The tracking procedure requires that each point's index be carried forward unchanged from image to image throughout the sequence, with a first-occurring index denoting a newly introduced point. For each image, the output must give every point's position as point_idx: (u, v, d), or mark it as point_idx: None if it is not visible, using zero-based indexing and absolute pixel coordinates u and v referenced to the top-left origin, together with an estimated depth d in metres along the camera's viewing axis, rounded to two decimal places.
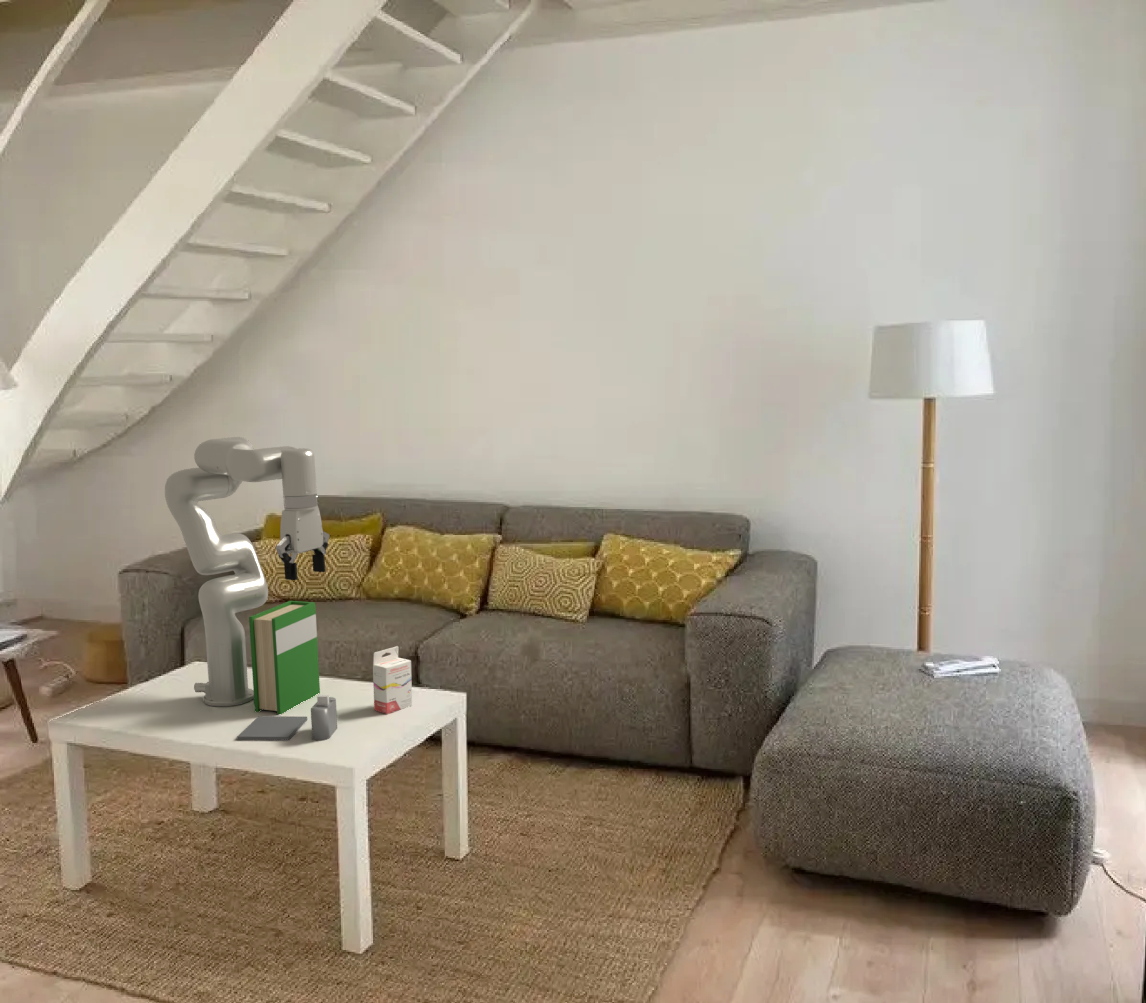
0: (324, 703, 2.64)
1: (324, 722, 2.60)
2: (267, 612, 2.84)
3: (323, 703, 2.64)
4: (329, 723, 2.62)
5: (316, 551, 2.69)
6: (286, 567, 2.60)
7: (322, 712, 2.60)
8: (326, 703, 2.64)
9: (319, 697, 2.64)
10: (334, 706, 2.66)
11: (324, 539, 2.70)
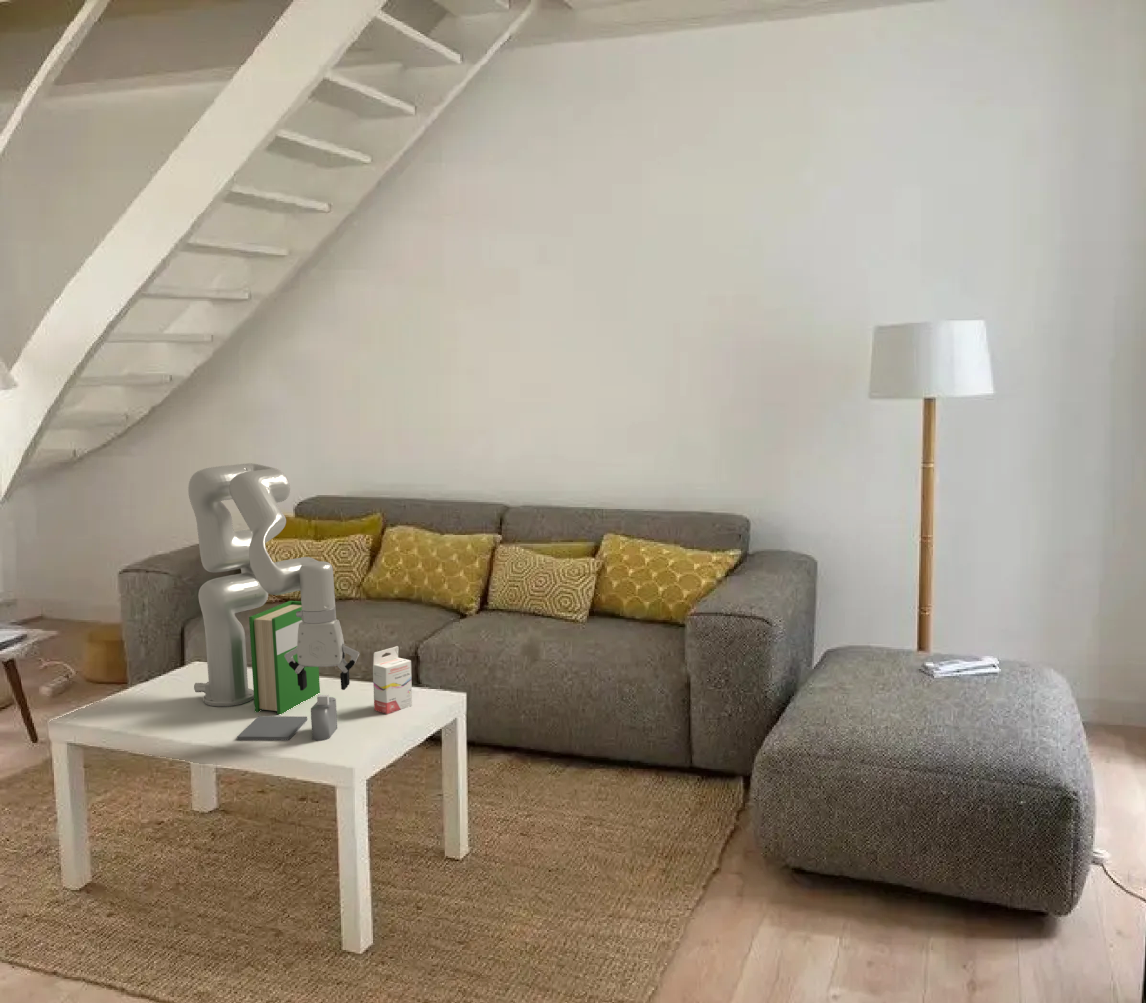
0: (324, 703, 2.64)
1: (324, 722, 2.60)
2: (267, 612, 2.84)
3: (323, 703, 2.64)
4: (329, 723, 2.62)
5: None
6: (347, 675, 2.62)
7: (322, 712, 2.60)
8: (326, 703, 2.64)
9: (319, 697, 2.64)
10: (334, 706, 2.66)
11: (292, 657, 2.63)
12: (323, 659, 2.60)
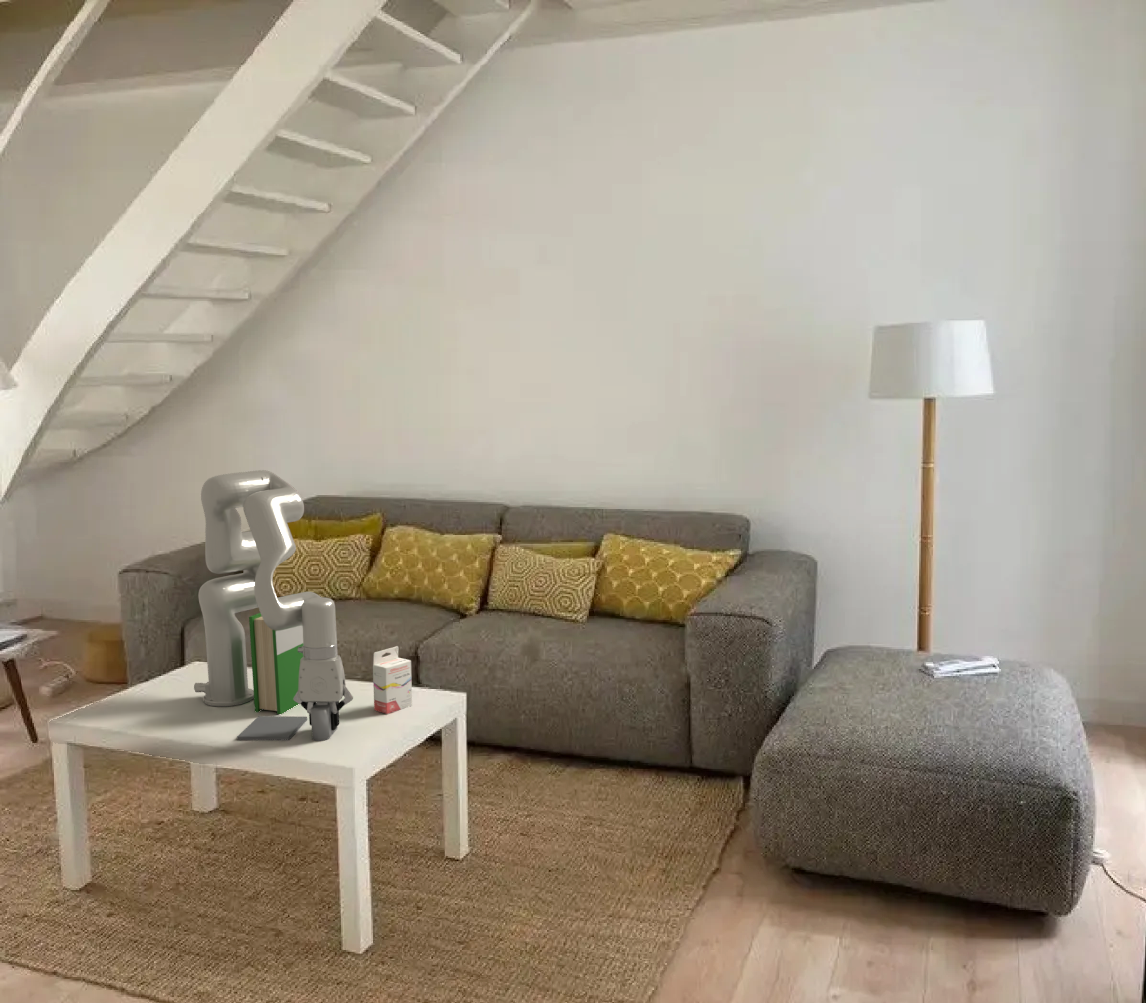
0: (324, 703, 2.64)
1: (324, 722, 2.60)
2: None
3: (323, 703, 2.64)
4: (329, 723, 2.62)
5: None
6: (337, 716, 2.64)
7: (322, 712, 2.60)
8: (326, 703, 2.63)
9: None
10: None
11: None
12: (324, 695, 2.61)
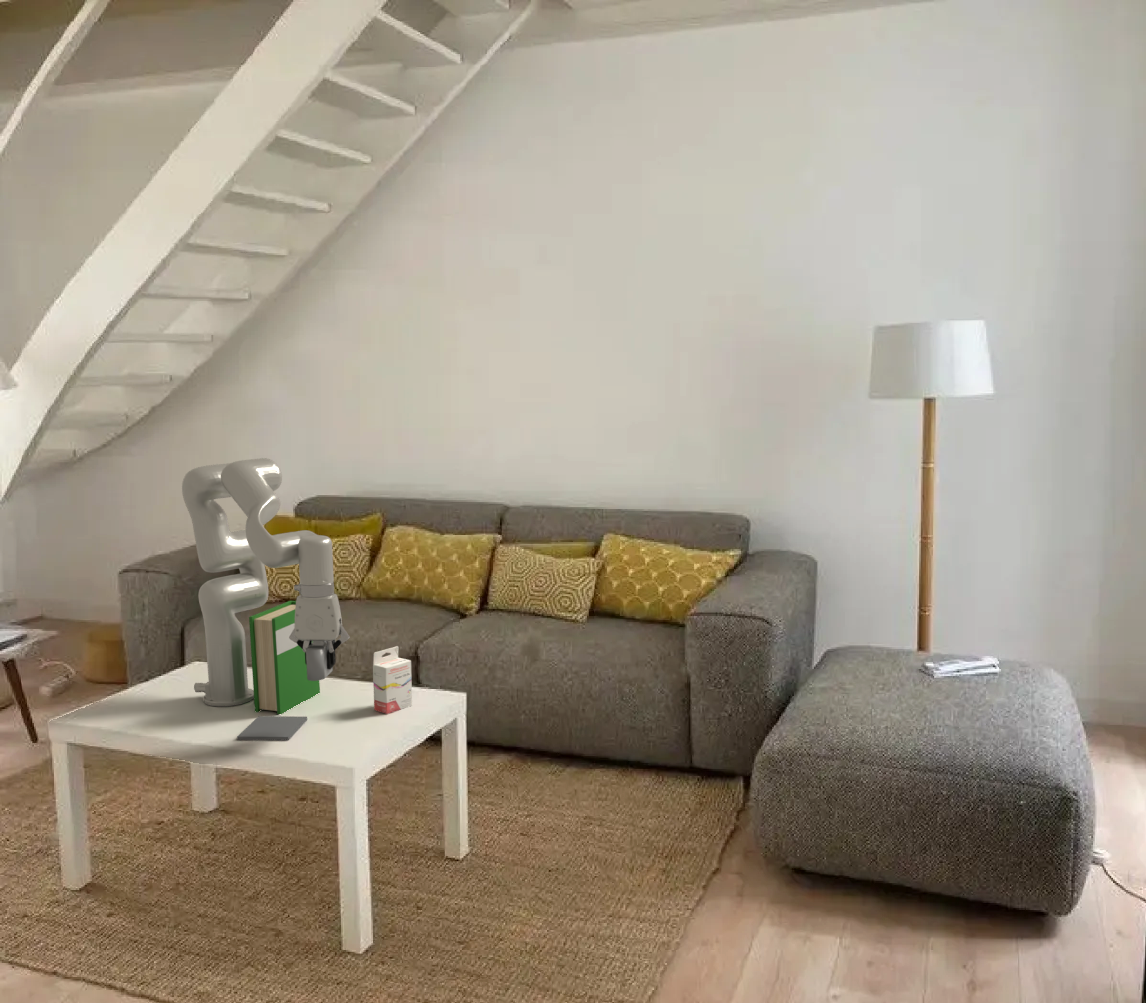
0: (320, 644, 2.61)
1: (319, 662, 2.58)
2: (267, 612, 2.84)
3: (318, 643, 2.61)
4: (324, 663, 2.60)
5: None
6: (333, 655, 2.62)
7: (317, 652, 2.57)
8: (322, 644, 2.61)
9: None
10: None
11: None
12: (320, 633, 2.59)
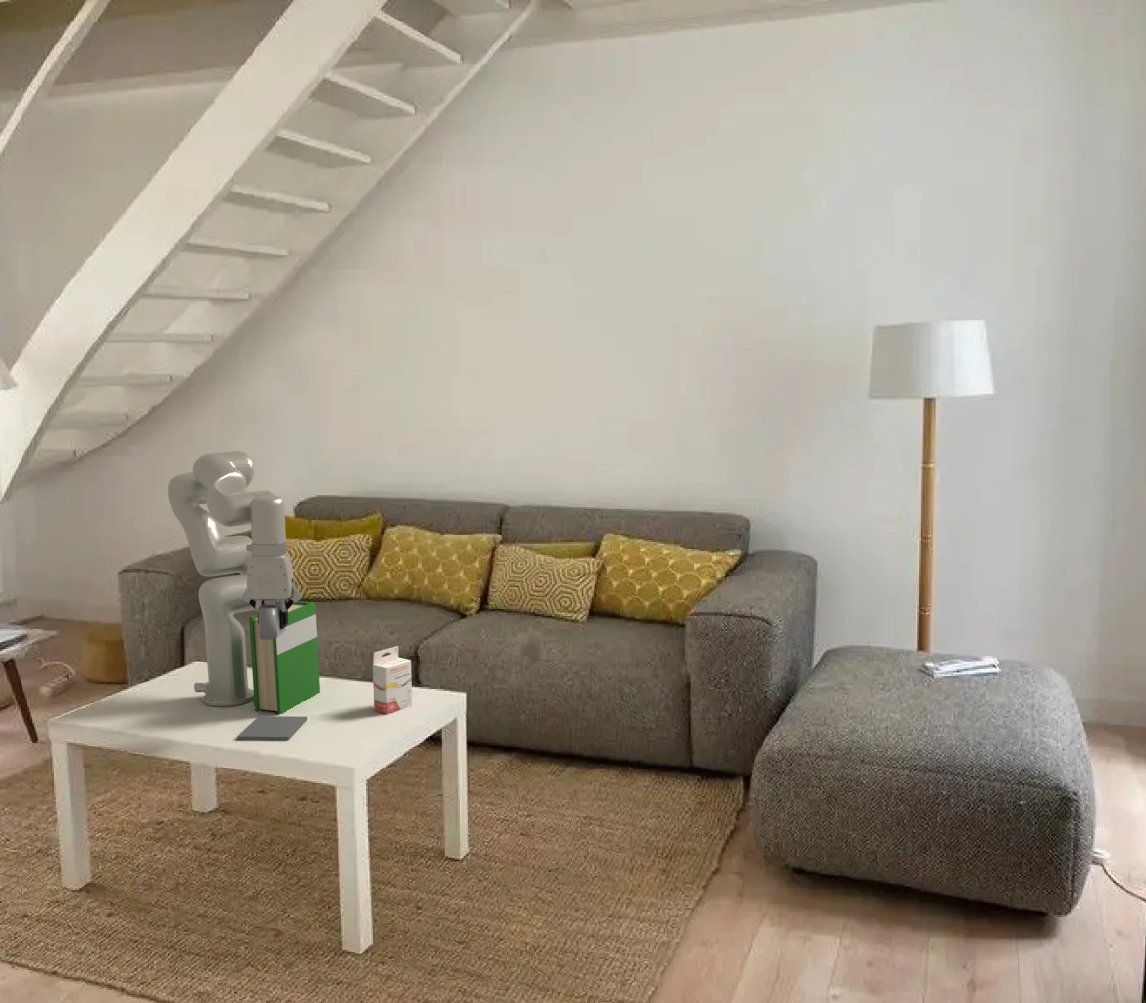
0: (272, 603, 2.62)
1: (271, 621, 2.59)
2: None
3: (271, 603, 2.62)
4: (277, 623, 2.61)
5: None
6: (286, 614, 2.64)
7: (269, 611, 2.59)
8: (274, 603, 2.62)
9: None
10: None
11: None
12: (272, 593, 2.60)
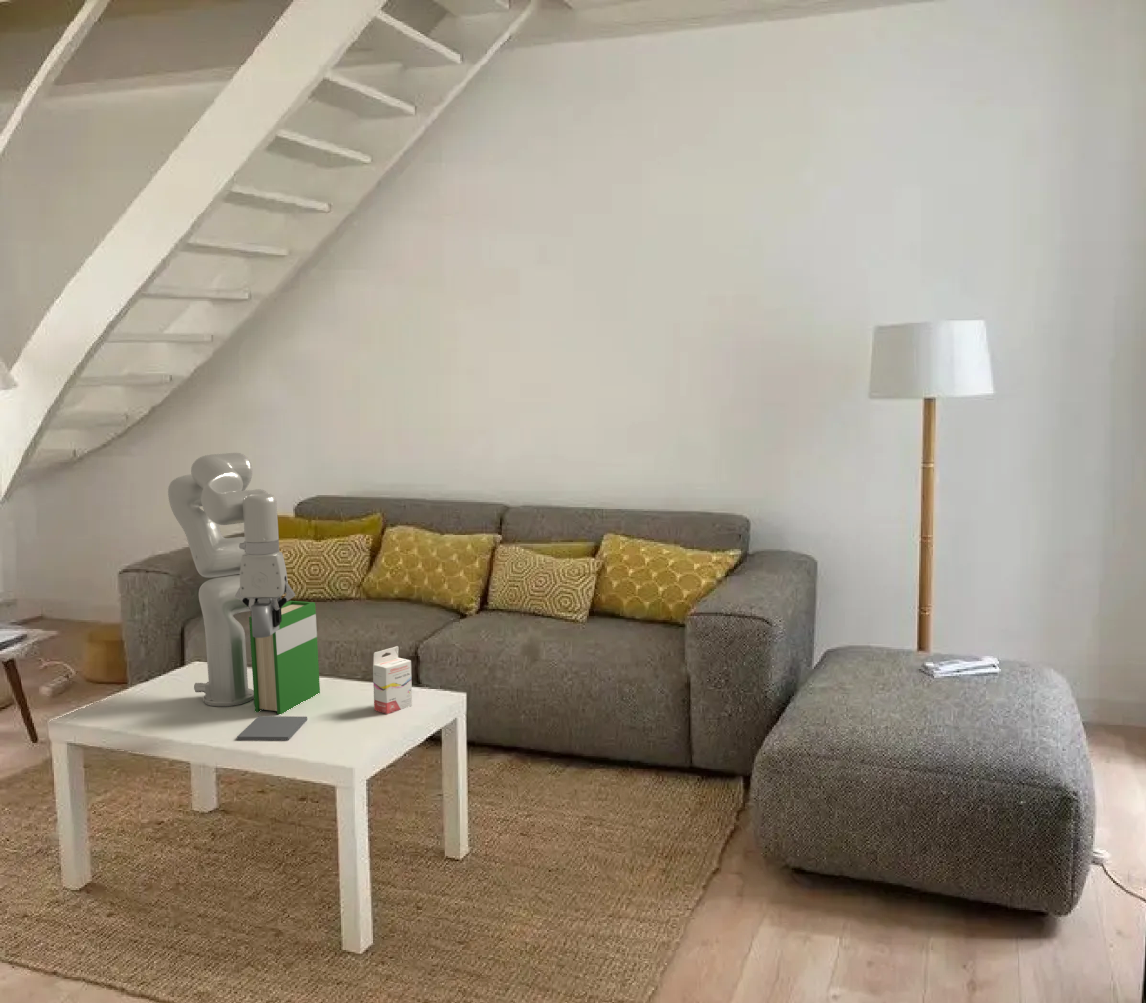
0: (265, 601, 2.63)
1: (264, 619, 2.59)
2: None
3: (264, 601, 2.63)
4: (270, 621, 2.61)
5: None
6: (279, 612, 2.64)
7: (262, 608, 2.59)
8: (267, 601, 2.63)
9: None
10: None
11: None
12: (265, 591, 2.61)
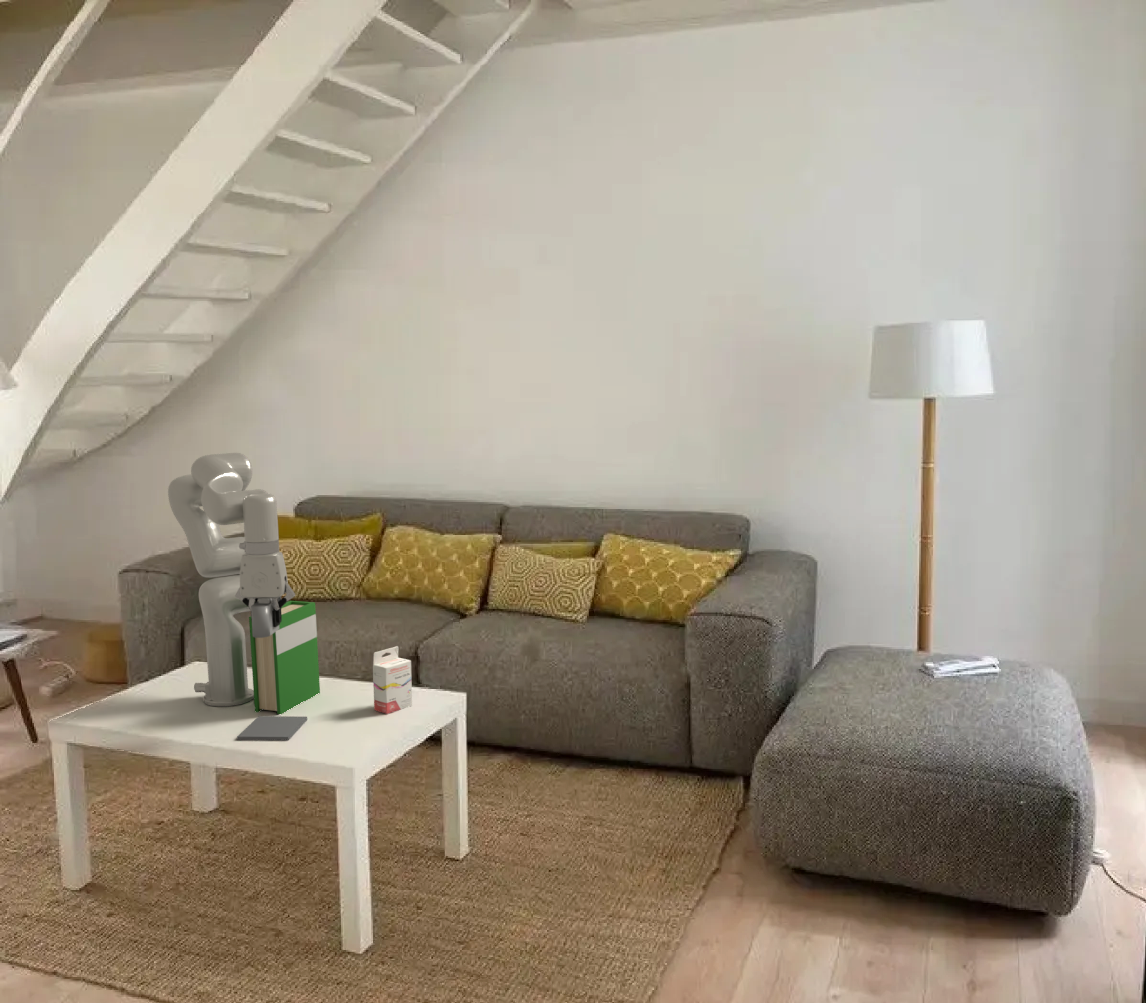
0: (265, 601, 2.63)
1: (264, 619, 2.59)
2: None
3: (264, 601, 2.63)
4: (270, 621, 2.61)
5: None
6: (279, 612, 2.64)
7: (262, 608, 2.59)
8: (267, 601, 2.63)
9: None
10: None
11: None
12: (265, 591, 2.61)
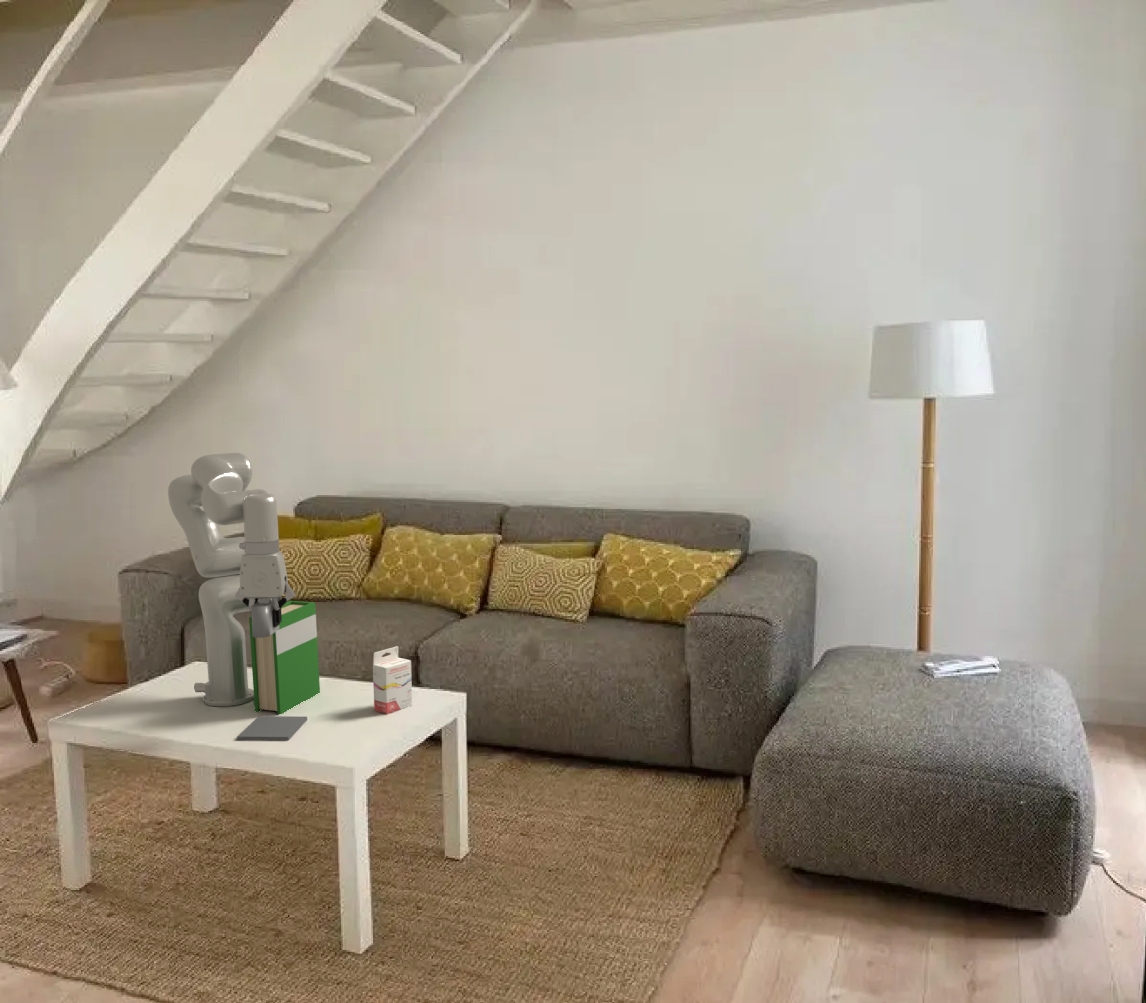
0: (265, 601, 2.63)
1: (264, 619, 2.59)
2: None
3: (264, 601, 2.63)
4: (270, 621, 2.61)
5: None
6: (279, 612, 2.64)
7: (262, 608, 2.59)
8: (267, 601, 2.63)
9: None
10: None
11: None
12: (265, 591, 2.61)
